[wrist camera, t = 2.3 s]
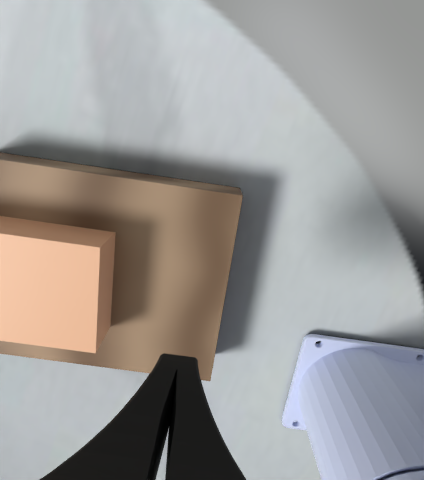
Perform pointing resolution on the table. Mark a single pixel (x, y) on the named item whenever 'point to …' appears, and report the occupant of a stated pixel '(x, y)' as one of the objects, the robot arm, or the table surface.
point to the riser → (137, 255)
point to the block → (55, 284)
